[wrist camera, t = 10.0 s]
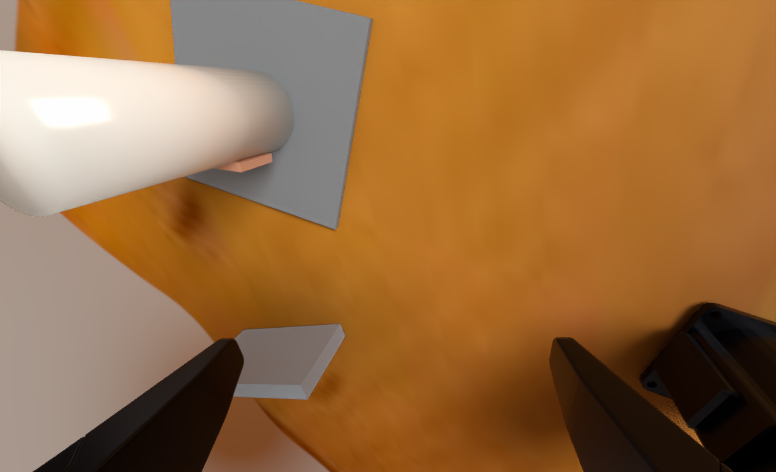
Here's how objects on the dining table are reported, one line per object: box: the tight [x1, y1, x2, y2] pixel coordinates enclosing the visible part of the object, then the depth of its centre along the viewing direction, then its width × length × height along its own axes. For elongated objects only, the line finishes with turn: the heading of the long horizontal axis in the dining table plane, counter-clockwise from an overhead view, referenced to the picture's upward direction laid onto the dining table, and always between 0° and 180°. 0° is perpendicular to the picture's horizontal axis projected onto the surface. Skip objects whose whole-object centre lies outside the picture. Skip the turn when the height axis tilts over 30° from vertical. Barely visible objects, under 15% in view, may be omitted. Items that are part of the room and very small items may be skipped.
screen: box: [233, 324, 345, 399], centre depth 25 cm, size 10×1×6 cm, turn 107°
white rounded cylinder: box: [0, 50, 294, 217], centre depth 15 cm, size 5×5×12 cm
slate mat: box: [170, 0, 373, 229], centre depth 20 cm, size 12×12×1 cm
